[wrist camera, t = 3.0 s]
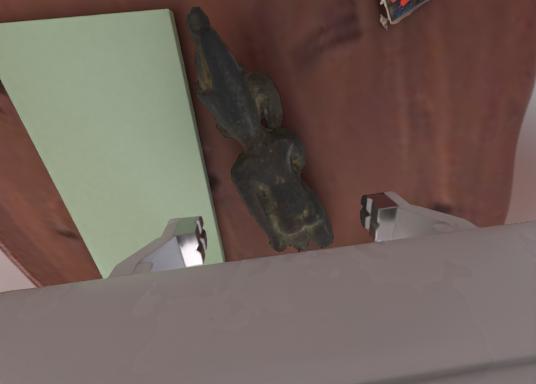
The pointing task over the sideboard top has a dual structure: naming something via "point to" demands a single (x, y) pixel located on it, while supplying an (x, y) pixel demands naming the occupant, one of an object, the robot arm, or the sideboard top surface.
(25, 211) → the sideboard top surface
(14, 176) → the sideboard top surface
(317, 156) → the sideboard top surface
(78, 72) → the board
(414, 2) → the matchbox
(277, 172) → the statue
